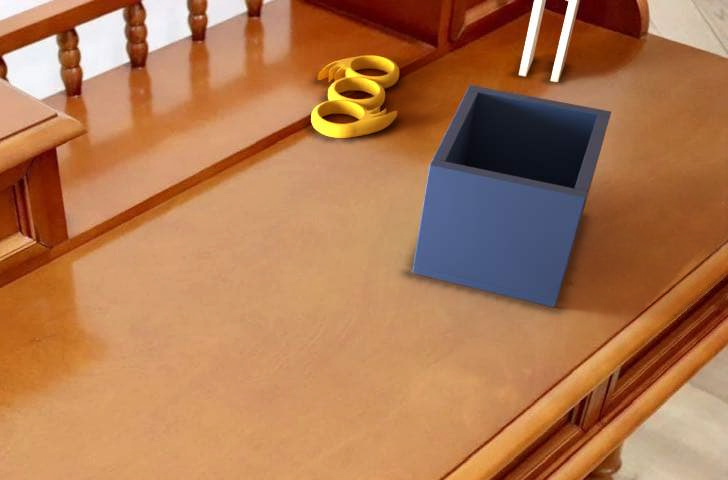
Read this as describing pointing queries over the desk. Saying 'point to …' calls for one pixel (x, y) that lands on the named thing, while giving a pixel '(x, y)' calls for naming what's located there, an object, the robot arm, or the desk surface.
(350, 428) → the desk surface
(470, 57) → the desk surface
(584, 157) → the bin
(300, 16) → the desk surface
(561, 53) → the clip
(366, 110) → the yellow winged triple ring
